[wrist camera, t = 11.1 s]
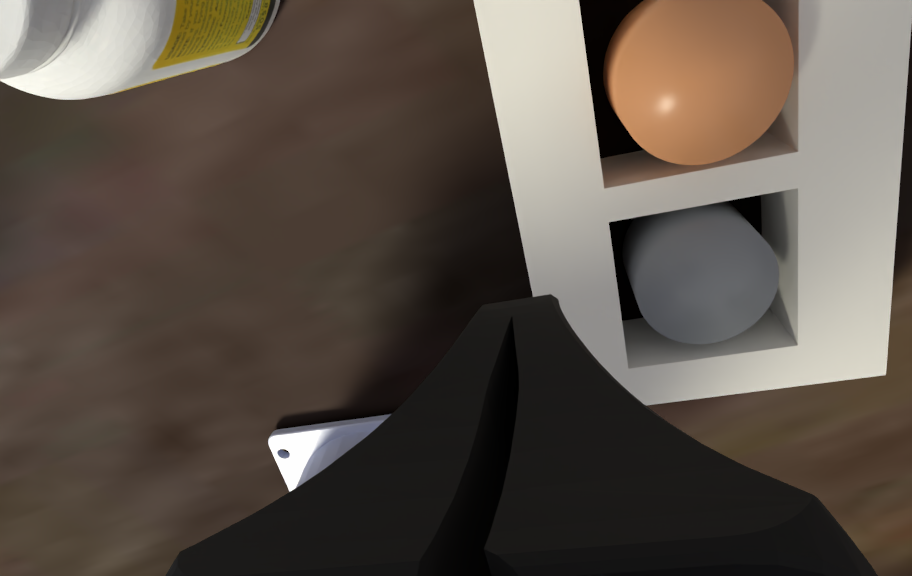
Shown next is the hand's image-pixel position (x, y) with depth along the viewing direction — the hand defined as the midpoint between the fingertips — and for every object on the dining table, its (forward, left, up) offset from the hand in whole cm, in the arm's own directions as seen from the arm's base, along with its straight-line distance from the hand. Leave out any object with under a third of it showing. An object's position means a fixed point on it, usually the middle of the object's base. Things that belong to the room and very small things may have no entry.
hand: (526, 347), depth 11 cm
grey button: (-3, -5, -10) cm, 12 cm away
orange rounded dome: (+3, -5, -9) cm, 11 cm away
